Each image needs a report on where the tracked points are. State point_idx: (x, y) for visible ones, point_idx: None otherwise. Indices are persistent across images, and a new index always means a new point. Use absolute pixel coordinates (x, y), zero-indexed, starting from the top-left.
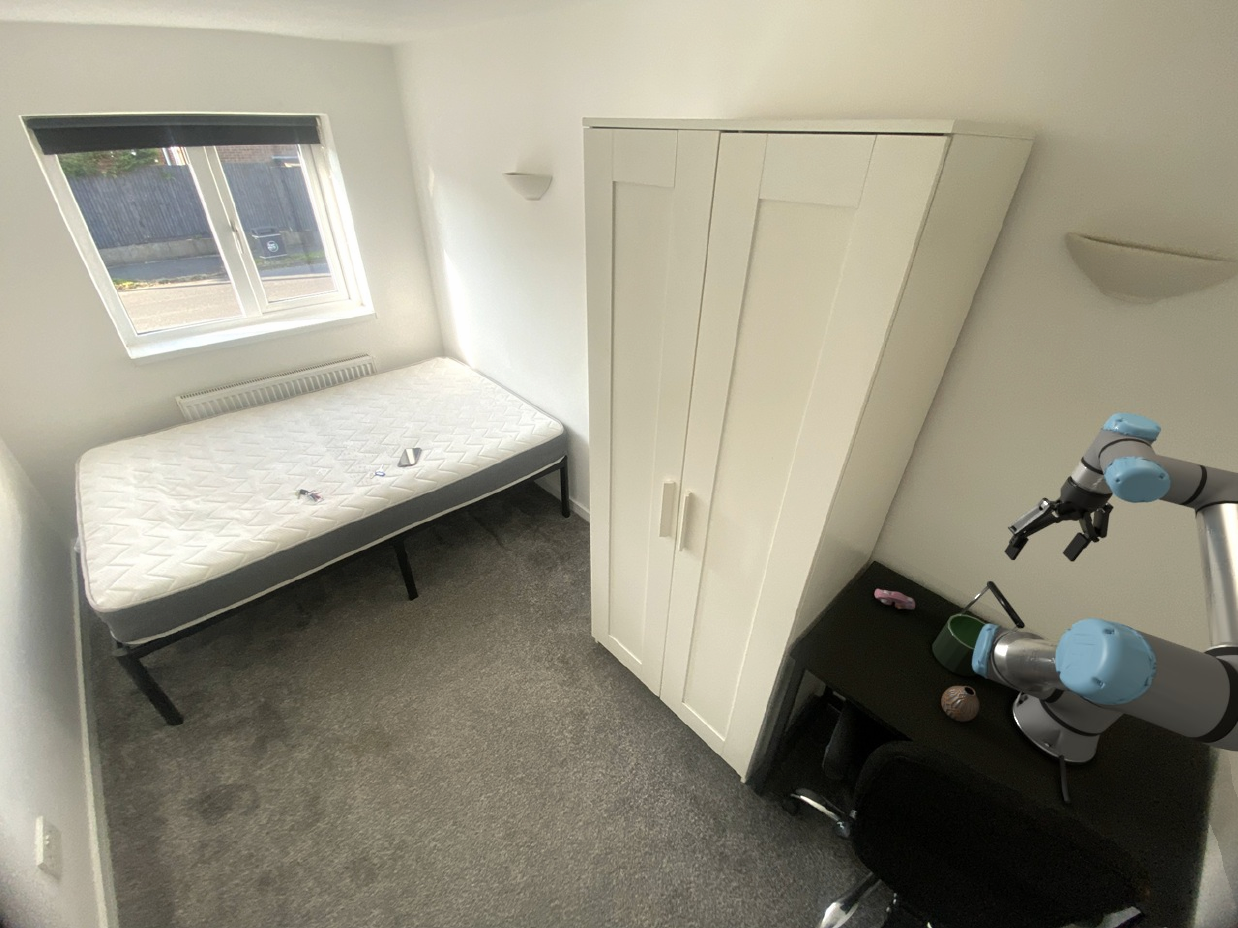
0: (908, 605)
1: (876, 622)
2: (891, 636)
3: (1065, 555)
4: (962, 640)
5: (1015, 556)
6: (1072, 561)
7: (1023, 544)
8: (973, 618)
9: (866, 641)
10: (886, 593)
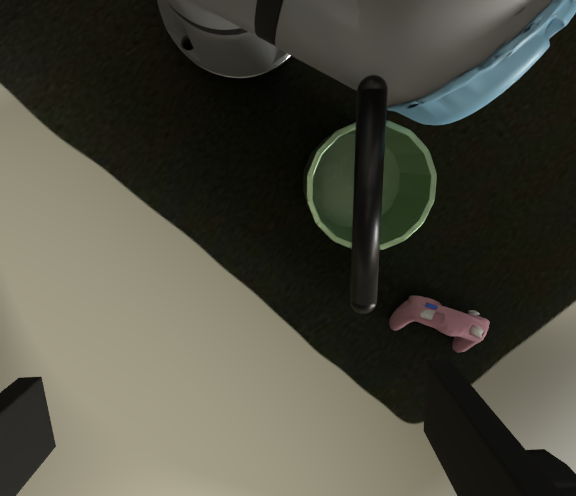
0: (432, 299)
1: (492, 262)
2: (476, 226)
3: (49, 425)
4: (325, 219)
5: (455, 379)
6: (29, 377)
7: (539, 483)
8: (341, 238)
9: (543, 208)
10: (482, 328)
